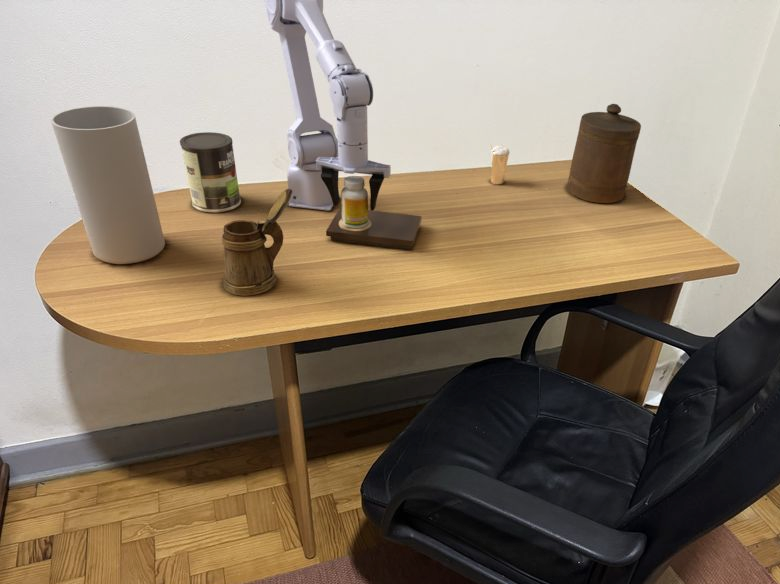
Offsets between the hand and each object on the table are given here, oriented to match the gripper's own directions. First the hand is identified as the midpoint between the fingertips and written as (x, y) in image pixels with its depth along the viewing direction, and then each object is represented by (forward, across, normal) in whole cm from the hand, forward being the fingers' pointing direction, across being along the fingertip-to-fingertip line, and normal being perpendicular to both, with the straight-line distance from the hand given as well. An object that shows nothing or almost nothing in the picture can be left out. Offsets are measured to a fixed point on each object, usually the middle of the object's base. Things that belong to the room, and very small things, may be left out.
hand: (354, 206), depth 128 cm
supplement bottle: (+4, 0, 0) cm, 4 cm away
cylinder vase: (+7, -40, -16) cm, 44 cm away
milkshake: (+7, +28, +38) cm, 47 cm away
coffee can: (+7, -33, +8) cm, 34 cm away
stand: (+6, +4, +2) cm, 8 cm away
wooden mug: (+7, -12, -22) cm, 26 cm away
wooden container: (+7, +54, +38) cm, 67 cm away
